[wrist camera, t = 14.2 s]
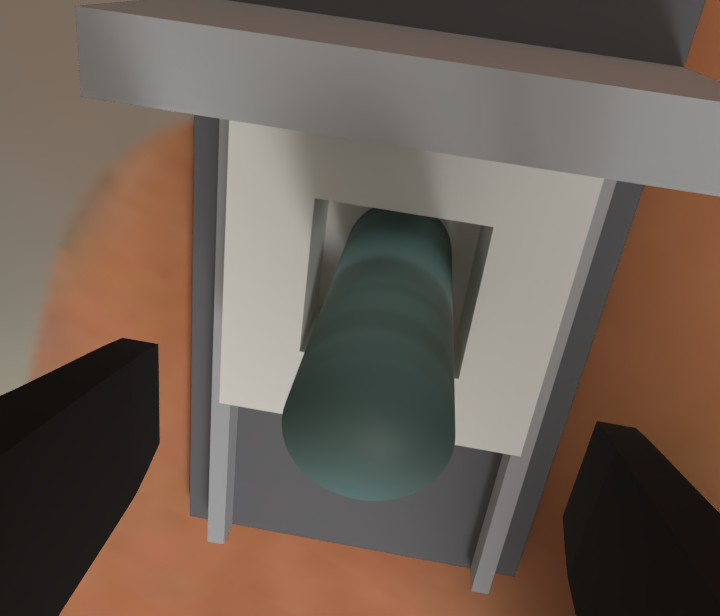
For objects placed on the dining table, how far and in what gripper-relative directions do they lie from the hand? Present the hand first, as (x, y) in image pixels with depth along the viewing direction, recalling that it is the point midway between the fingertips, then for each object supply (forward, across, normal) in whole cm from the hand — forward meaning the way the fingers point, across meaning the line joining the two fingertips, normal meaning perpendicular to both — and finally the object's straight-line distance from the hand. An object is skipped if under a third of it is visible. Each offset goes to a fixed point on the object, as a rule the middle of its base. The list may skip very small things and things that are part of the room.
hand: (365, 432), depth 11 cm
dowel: (+8, 0, 0) cm, 8 cm away
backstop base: (+9, 0, +2) cm, 10 cm away
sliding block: (+9, 0, 0) cm, 9 cm away
